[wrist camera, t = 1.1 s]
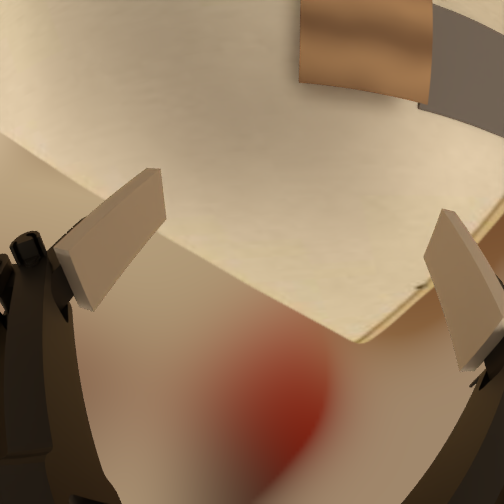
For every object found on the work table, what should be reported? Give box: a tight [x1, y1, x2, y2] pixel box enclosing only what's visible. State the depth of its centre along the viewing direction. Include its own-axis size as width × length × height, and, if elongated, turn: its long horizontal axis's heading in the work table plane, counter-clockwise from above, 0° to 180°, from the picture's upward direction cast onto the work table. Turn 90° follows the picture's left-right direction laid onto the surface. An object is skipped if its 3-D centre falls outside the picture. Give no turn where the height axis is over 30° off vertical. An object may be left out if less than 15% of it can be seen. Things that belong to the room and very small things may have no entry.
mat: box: [418, 4, 504, 137], centre depth 21 cm, size 14×14×1 cm
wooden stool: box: [299, 0, 433, 105], centre depth 20 cm, size 12×11×10 cm
